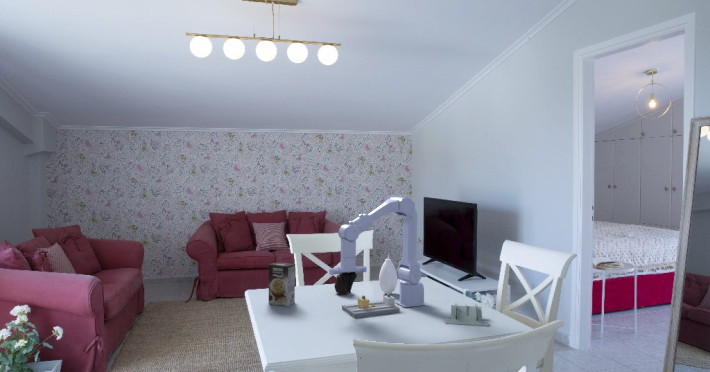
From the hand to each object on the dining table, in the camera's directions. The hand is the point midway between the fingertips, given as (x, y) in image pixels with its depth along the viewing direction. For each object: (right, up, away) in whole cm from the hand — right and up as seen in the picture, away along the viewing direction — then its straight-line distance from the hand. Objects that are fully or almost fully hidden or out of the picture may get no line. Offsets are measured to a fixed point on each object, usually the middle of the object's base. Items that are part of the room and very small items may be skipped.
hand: (347, 292), depth 182 cm
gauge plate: (+9, -8, +4) cm, 12 cm away
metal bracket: (+43, -9, -6) cm, 45 cm away
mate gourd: (-2, -7, +30) cm, 31 cm away
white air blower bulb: (+17, -7, +30) cm, 35 cm away
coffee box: (-27, -8, +14) cm, 31 cm away
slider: (+6, -6, +3) cm, 9 cm away
